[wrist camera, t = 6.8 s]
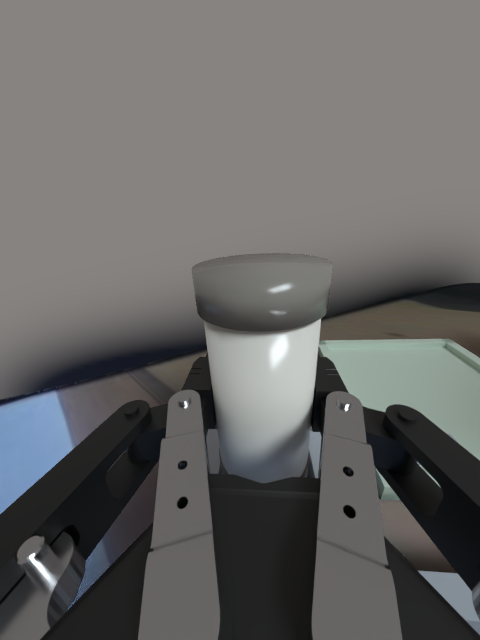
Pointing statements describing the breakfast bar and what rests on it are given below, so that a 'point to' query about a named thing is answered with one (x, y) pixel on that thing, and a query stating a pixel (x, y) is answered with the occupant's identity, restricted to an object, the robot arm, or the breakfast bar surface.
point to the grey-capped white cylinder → (263, 357)
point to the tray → (413, 384)
